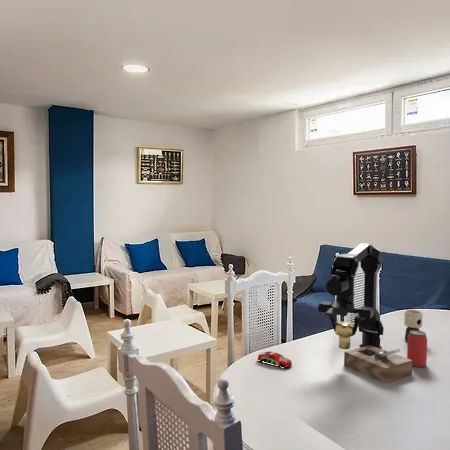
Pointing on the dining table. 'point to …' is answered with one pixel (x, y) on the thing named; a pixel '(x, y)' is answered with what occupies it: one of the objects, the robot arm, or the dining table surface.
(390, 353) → the latch bar
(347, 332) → the brass pin
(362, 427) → the dining table surface
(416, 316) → the character mug
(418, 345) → the beer can
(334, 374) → the dining table surface
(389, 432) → the dining table surface
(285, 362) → the race car
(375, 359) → the brown rectangular block
